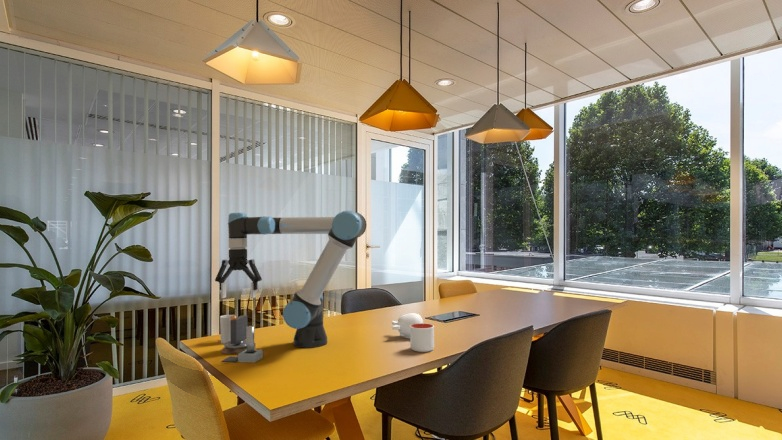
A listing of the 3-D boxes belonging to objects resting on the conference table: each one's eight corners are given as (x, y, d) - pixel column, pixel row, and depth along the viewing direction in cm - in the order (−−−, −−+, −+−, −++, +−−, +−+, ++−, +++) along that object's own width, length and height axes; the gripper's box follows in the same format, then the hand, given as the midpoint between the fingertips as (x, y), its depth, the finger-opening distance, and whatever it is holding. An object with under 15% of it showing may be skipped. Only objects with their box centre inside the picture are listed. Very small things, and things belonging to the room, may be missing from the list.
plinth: (255, 347, 191) (255, 342, 191) (244, 354, 181) (244, 348, 181) (234, 347, 192) (234, 342, 192) (222, 353, 182) (222, 348, 182)
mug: (236, 343, 199) (236, 316, 199) (220, 344, 196) (220, 318, 196) (234, 338, 208) (234, 313, 208) (219, 339, 205) (219, 314, 205)
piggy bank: (424, 338, 209) (393, 341, 209) (421, 313, 213) (391, 316, 213) (425, 336, 198) (393, 339, 197) (423, 310, 201) (390, 313, 201)
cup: (437, 347, 187) (437, 324, 187) (429, 354, 178) (429, 329, 178) (415, 345, 191) (415, 322, 191) (406, 351, 182) (406, 327, 182)
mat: (243, 357, 175) (243, 356, 175) (236, 362, 170) (236, 361, 170) (229, 357, 176) (229, 356, 176) (221, 361, 170) (221, 360, 170)
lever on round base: (258, 342, 192) (258, 311, 192) (245, 349, 179) (245, 317, 180) (233, 341, 193) (233, 311, 194) (218, 348, 181) (218, 316, 181)
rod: (255, 358, 174) (255, 326, 174) (252, 360, 171) (252, 327, 172) (248, 358, 175) (248, 325, 175) (245, 360, 172) (245, 327, 172)
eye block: (262, 357, 176) (262, 349, 176) (254, 362, 169) (254, 354, 169) (246, 356, 177) (246, 349, 177) (237, 361, 170) (237, 354, 170)
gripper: (269, 247, 189) (269, 296, 189) (215, 248, 193) (216, 296, 192) (261, 248, 182) (262, 299, 181) (206, 249, 185) (206, 299, 185)
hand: (238, 297), depth 187 cm, fingers open, 13 cm apart
